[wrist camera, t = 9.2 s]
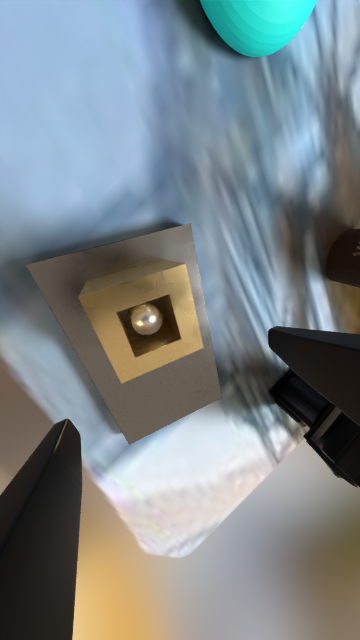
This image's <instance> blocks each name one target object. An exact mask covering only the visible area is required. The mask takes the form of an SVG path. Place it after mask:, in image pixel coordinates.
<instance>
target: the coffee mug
mask: <svg viewBox="0 0 360 640" xmlns="http://www.w3.org/2000/svg"><path fill="white" fill-rule="evenodd" d="M326 270H327V274H328V277H329V278H330V279H331V280H333V281H337V282H340V283H344V284H348V285H352V286H355V287H359V288H360V229H355V230H349V231H346V232H345V233H343V234H342V235H341V236H340V237H339V238H338V239H337V240H336V241H335V243H334V244H333V246H332V248H331V250H330V252H329V255H328V259H327V264H326Z"/></svg>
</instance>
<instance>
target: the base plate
mask: <svg viewBox="0 0 360 640" xmlns="http://www.w3.org/2000/svg"><path fill="white" fill-rule="evenodd" d="M160 259H166V260H171V261H175V262H180V263H185V264H186V267H187V272H188V277H189V282H190V286H191V291H192V296H193V300H194V305H195V310H196V314H197V319H198V324H199V328H200V333H201V338H202V342H203V347H204V348H202V349H200V350H198V351H195V352H193V353H191V354H188V355H186V356H184V357H181V358H179V359H177V360H175V361H172V362H170V363H168V364H165V365H163V366H161V367H158V368H156V369H154V370H152V371H149V372H147V373H145V374H142V375H140V376H138V377H136V378H133V379H131V380H129V381H126V382H124V383H122V384H121V382H120V380H119V378H118V376H117V374H116V372H115V370H114V368H113V366H112V364H111V362H110V360H109V358H108V356H107V354H106V352H105V350H104V348H103V346H102V344H101V342H100V340H99V338H98V336H97V334H96V332H95V330H94V328H93V326H92V324H91V322H90V320H89V318H88V316H87V314H86V312H85V310H84V308H83V306H82V304H81V302H80V300H79V298H78V297H79V295H80V293H81V291H82V289H83V287H84V285H85V283H86V282H87V281H89V280H92V279H96V278H99V277H103V276H106V275H109V274H113V273H116V272H119V271H123V270H126V269H130V268H133V267H136V266H140V265H143V264H147V263H150V262H153V261H157V260H160ZM26 267H27V268H28V270H29V272H30V274H31V275H32V277H33V279H34V280H35V282H36V284H37V286H38V287H39V289H40V291H41V293H42V294H43V296H44V298H45V299H46V301H47V303H48V305H49V306H50V308H51V310H52V312H53V313H54V315H55V317H56V319H57V320H58V322H59V324H60V325H61V327H62V329H63V331H64V332H65V334H66V336H67V338H68V339H69V341H70V343H71V345H72V346H73V348H74V350H75V351H76V353H77V355H78V357H79V358H80V360H81V362H82V364H83V365H84V367H85V369H86V370H87V372H88V374H89V376H90V377H91V379H92V381H93V383H94V384H95V386H96V388H97V390H98V391H99V393H100V395H101V396H102V398H103V400H104V402H105V403H106V405H107V407H108V409H109V410H110V412H111V414H112V415H113V417H114V419H115V421H116V422H117V424H118V426H119V428H120V429H121V431H122V433H123V435H124V436H125V438H126V440H127V441H128V443H129V445H130V444H132V443H134V442H136V441H138V440H139V439H141V438H143V437H145V436H147V435H149V434H151V433H153V432H155V431H157V430H159V429H161V428H163V427H165V426H167V425H169V424H171V423H173V422H175V421H177V420H179V419H181V418H183V417H184V416H186V415H188V414H190V413H192V412H194V411H196V410H198V409H200V408H202V407H204V406H206V405H208V404H210V403H212V402H214V401H216V400H218V399H220V398H222V395H221V389H220V384H219V378H218V373H217V367H216V362H215V356H214V351H213V345H212V339H211V334H210V328H209V323H208V317H207V312H206V306H205V301H204V295H203V289H202V284H201V278H200V273H199V267H198V262H197V256H196V251H195V245H194V240H193V234H192V228H191V223H190V224H186V225H182V226H178V227H174V228H170V229H166V230H162V231H158V232H154V233H150V234H146V235H142V236H138V237H134V238H130V239H126V240H122V241H118V242H114V243H110V244H106V245H102V246H98V247H94V248H90V249H86V250H82V251H78V252H74V253H70V254H66V255H62V256H59V257H55V258H51V259H47V260H43V261H39V262H35V263H31V264H27V265H26ZM120 312H121V314H122V317H123V319H124V322H125V324H126V326H127V328H128V327H130V326H133V328H134V329H135V331H136V332H138V333H139V334H142V335H151V334H153V333H155V332H156V331H158V330H159V328H160V327H161V325H162V320H163V319H162V314H161V311H160V308H159V304H158V301H157V299H154V300H151V301H148V302H145V303H142V304H139V305H136V306H133V307H131V308H128V309H125V310H122V311H120Z"/></svg>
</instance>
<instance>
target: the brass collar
mask: <svg viewBox="0 0 360 640" xmlns="http://www.w3.org/2000/svg"><path fill="white" fill-rule="evenodd" d="M78 298H79V300H80V302H81V304H82V306H83V308H84V310H85V312H86V314H87V316H88V318H89V320H90V322H91V324H92V326H93V328H94V330H95V332H96V334H97V336H98V338H99V340H100V342H101V344H102V346H103V348H104V350H105V352H106V354H107V356H108V358H109V360H110V362H111V364H112V366H113V368H114V370H115V372H116V374H117V376H118V378H119V380H120V382H121V384H122V383H124V382H126V381H129V380H131V379H133V378H136V377H138V376H140V375H142V374H145V373H147V372H149V371H152V370H154V369H156V368H158V367H161V366H163V365H165V364H168V363H170V362H172V361H175V360H177V359H179V358H181V357H184V356H186V355H188V354H191V353H193V352H195V351H198V350H200V349H202V348H204V347H203V342H202V338H201V333H200V328H199V324H198V319H197V314H196V310H195V305H194V300H193V296H192V291H191V286H190V282H189V277H188V272H187V267H186V264H185V263H180V262H175V261H171V260H166V259H160V260H157V261H153V262H150V263H147V264H143V265H140V266H136V267H133V268H130V269H126V270H123V271H119V272H116V273H113V274H109V275H106V276H103V277H99V278H96V279H92V280H89V281H87V282H86V283H85V285H84V287H83V289H82V291H81V293H80V295H79V297H78ZM154 299H157V301H158V304H159V308H160V311H161V314H162V319H163V320H162V325H161V327H160V328H159V330H158V331H156V332H155V333H153V334H151V335H142V334H139V333H138V332H136V331H135V329H134V328H133V326H130V327H128V328H127V326H126V324H125V322H124V319H123V317H122V314H121V312H120V311H122V310H125V309H128V308H131V307H133V306H136V305H139V304H142V303H145V302H148V301H151V300H154Z"/></svg>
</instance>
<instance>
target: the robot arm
mask: <svg viewBox="0 0 360 640" xmlns="http://www.w3.org/2000/svg"><path fill="white" fill-rule="evenodd" d="M268 344H269V347H270V348H271V349H272V350H273V351H274V352H275V353H276V354H277V355H278V356H279V357H280V358H281V359H282V360H283V361H284V362H285V363H286V364H287V365H288V366H289V367H290V368H291V370H290V371H289V372H288V373H287V374H286V375H285V376H284V377H283V378H282V379H281V380H280V381H279V382H278V383H277V384H276V385H275V387H274V388H273V389H272V390H271V391H270V394H271V395H272V396H273V397H274V398H275V399H276V400H275V403H276V404H277V405H278V406H279V407H281V408H282V409H283V410H284V411H285V412H286V413H287V414H288V415H289V416H290V417H291V418H293V419H294V420H295V421H296V422H297V423H298V424H299V425H300V426H301V427H305V426H307V427H308V428H310V430H309V431H308V432H307V433H305V435H304V436H303V437H304V438H305V439H306V440H307V441H306V442H307V443H308V444H309V445H310V446H311V447H312V448H313V449H314V450H315V451H316V452H317V453H318V454H319V456H320V457H321V458H322V459H323V460H324V462H325V463H326V464H327V466H328V467H329V468H330V469H331V471H332V472H333V474H334V475H335V476H337V477H338V478H343V479H345V480H346V481H347V482H349V483H350V484H352V485H353V486H355V487H360V335H359V334H349V333H339V332H330V331H320V330H310V329H300V328H291V327H281V326H276V327H273V328H271V329H269V331H268ZM81 497H82V460H81V437H80V434H79V432H78V430H77V429H76V427H75V426H74V425H73V423H72V422H71V421H70V420H69V419H64V420H62V421H60V422H58V423H56V424H55V425H54V426H53V427H52V428H51V430H50V431H49V432H48V434H47V435H46V436H45V438H44V439H43V440H42V442H41V443H40V444H39V445H38V447H37V448H36V449H35V451H34V452H33V453H32V455H31V456H30V457H29V459H28V460H27V461H26V462H25V464H24V465H23V466H22V468H21V469H20V470H19V472H18V473H17V474H16V476H15V477H14V478H13V479H12V481H11V482H10V484H9V485H8V486H7V487H6V489H5V490H4V491H3V492H2V494H1V495H0V640H72V636H73V635H72V634H73V620H74V605H75V590H76V574H77V559H78V543H79V528H80V513H81V512H80V511H81Z"/></svg>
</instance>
